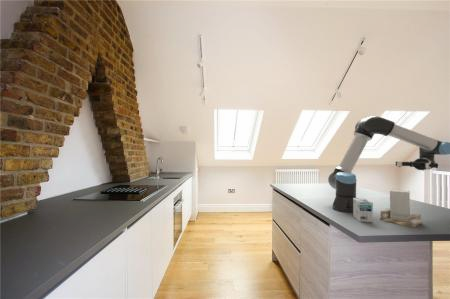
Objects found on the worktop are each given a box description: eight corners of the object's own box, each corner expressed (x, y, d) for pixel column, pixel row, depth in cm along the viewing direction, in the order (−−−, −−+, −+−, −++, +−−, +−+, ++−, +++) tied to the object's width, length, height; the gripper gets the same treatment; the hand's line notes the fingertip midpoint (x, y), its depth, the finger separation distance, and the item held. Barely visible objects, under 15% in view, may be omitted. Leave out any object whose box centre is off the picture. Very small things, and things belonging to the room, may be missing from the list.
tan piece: (379, 219, 127) (379, 210, 127) (388, 216, 134) (388, 207, 134) (413, 227, 115) (414, 217, 115) (421, 223, 122) (421, 213, 122)
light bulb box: (373, 222, 122) (373, 202, 122) (359, 221, 123) (359, 201, 123) (365, 217, 132) (365, 198, 132) (352, 216, 134) (352, 197, 134)
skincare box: (410, 219, 125) (410, 190, 125) (409, 222, 120) (409, 192, 120) (391, 216, 130) (391, 189, 130) (389, 219, 125) (389, 190, 125)
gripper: (448, 171, 138) (439, 173, 125) (398, 168, 158) (386, 169, 145) (449, 158, 138) (440, 159, 125) (398, 157, 158) (386, 157, 145)
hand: (411, 164), depth 135 cm, fingers open, 13 cm apart
